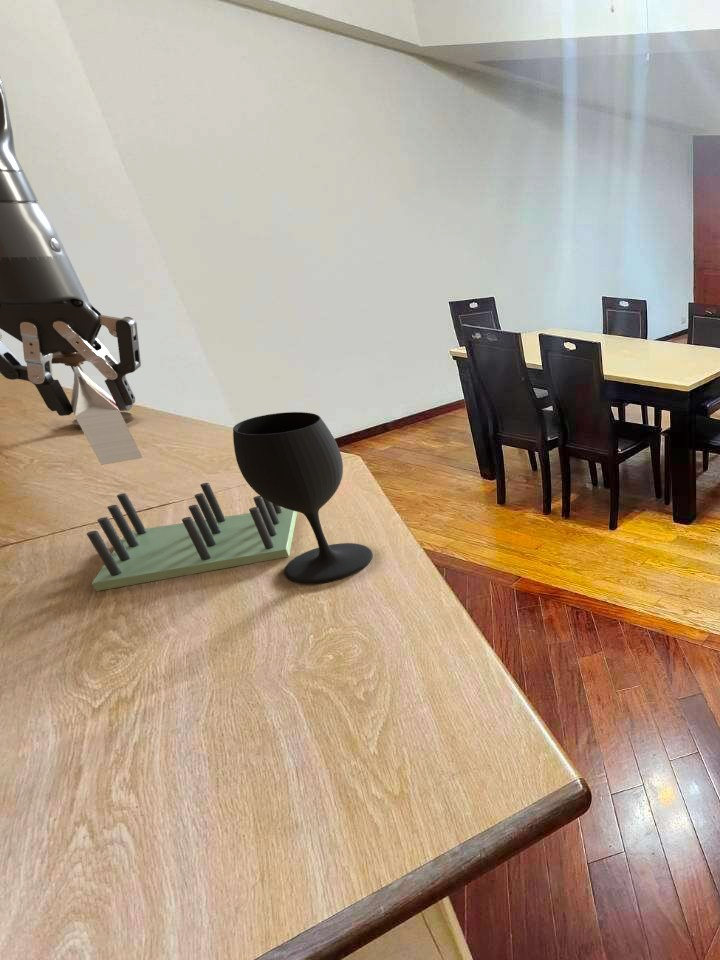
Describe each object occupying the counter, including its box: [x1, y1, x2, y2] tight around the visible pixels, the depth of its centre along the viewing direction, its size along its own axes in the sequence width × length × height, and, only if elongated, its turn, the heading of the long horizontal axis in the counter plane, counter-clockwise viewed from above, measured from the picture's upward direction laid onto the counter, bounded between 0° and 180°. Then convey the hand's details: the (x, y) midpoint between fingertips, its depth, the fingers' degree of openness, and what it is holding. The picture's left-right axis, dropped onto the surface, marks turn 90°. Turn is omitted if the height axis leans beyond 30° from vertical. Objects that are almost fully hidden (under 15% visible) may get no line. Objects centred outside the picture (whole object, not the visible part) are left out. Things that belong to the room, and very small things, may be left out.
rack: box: [86, 482, 298, 592], centre depth 81 cm, size 20×15×7 cm
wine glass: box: [232, 411, 374, 585], centre depth 76 cm, size 10×10×20 cm
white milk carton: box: [70, 366, 144, 466], centre depth 70 cm, size 4×7×10 cm, turn 47°
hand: (96, 410), depth 70 cm, fingers closed on white milk carton, 4 cm apart
